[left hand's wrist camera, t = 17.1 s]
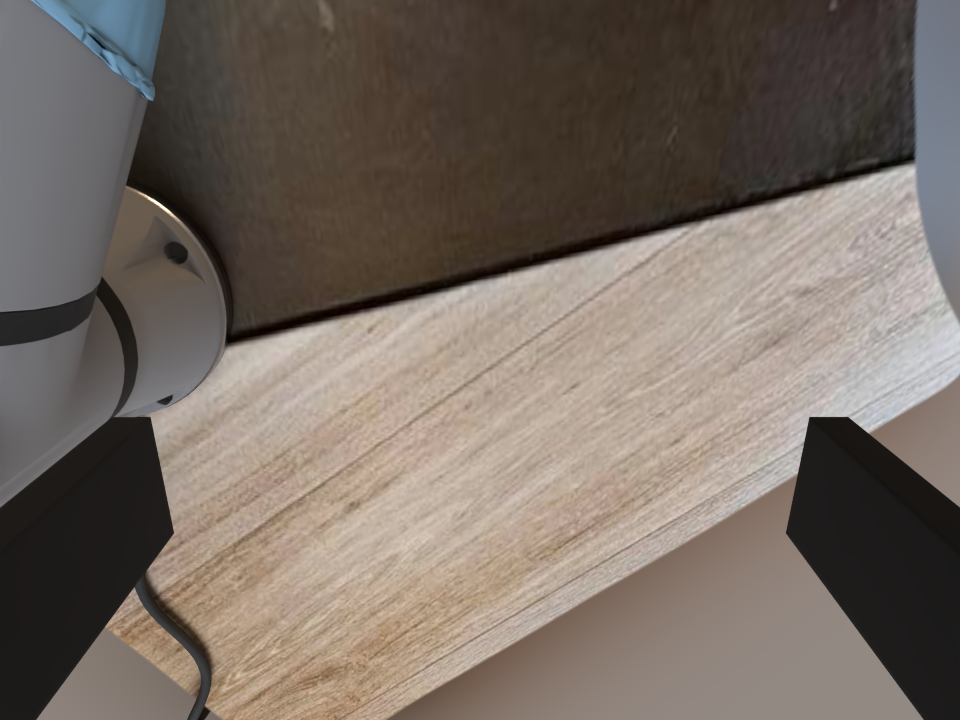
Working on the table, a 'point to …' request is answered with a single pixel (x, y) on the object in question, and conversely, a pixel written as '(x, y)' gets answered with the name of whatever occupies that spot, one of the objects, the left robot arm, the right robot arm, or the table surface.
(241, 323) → the table surface
